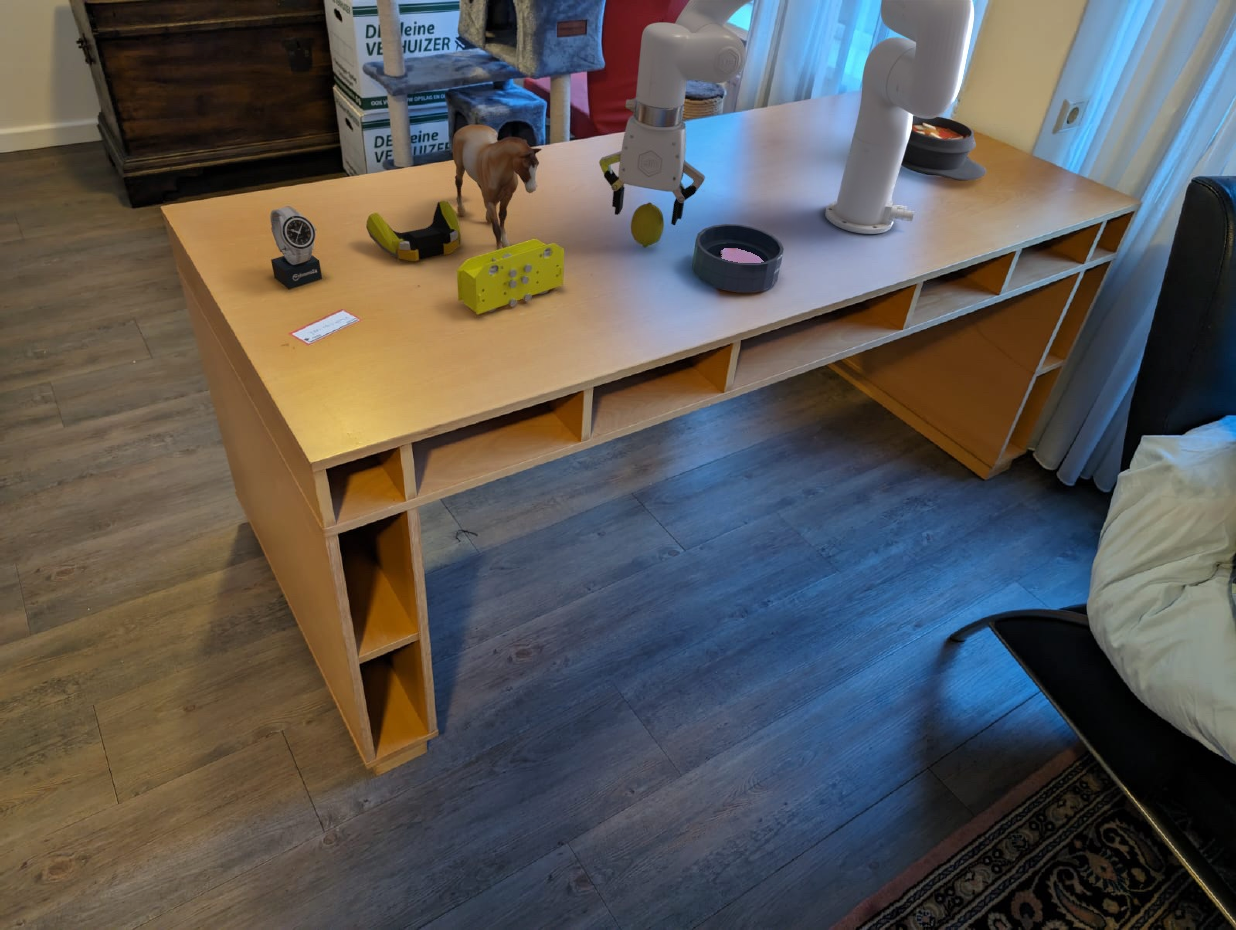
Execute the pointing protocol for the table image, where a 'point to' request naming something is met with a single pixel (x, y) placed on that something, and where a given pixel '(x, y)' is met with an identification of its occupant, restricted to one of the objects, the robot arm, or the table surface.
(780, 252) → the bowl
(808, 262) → the table surface
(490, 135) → the horse figurine
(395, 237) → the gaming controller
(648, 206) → the lemon
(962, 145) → the casserole
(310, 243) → the watch
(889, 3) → the robot arm
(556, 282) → the yellow toy chassis
